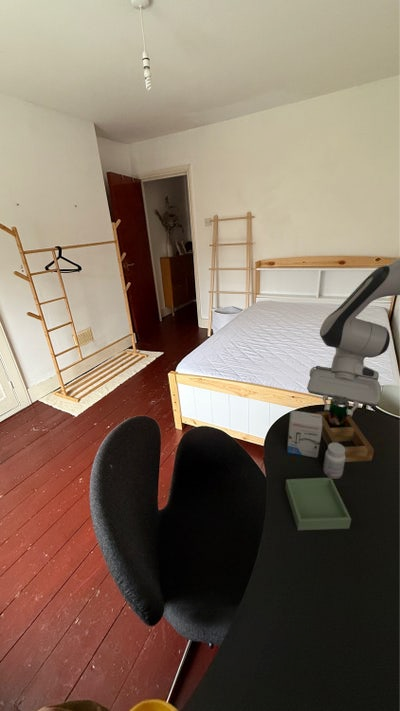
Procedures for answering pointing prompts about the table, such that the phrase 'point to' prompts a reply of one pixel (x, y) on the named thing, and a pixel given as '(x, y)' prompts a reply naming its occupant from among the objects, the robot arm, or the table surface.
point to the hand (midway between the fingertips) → (338, 413)
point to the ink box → (304, 433)
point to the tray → (316, 504)
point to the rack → (347, 439)
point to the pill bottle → (334, 460)
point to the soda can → (338, 412)
